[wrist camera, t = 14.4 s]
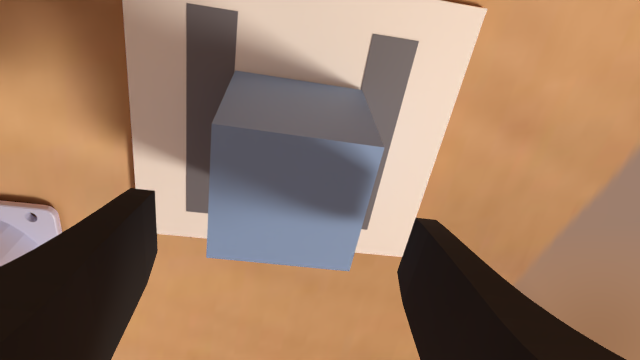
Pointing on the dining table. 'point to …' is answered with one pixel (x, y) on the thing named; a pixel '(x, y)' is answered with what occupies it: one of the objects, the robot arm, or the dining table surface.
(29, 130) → the dining table surface
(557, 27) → the dining table surface
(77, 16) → the dining table surface
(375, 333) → the dining table surface
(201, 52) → the letter card
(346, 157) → the blue cube
